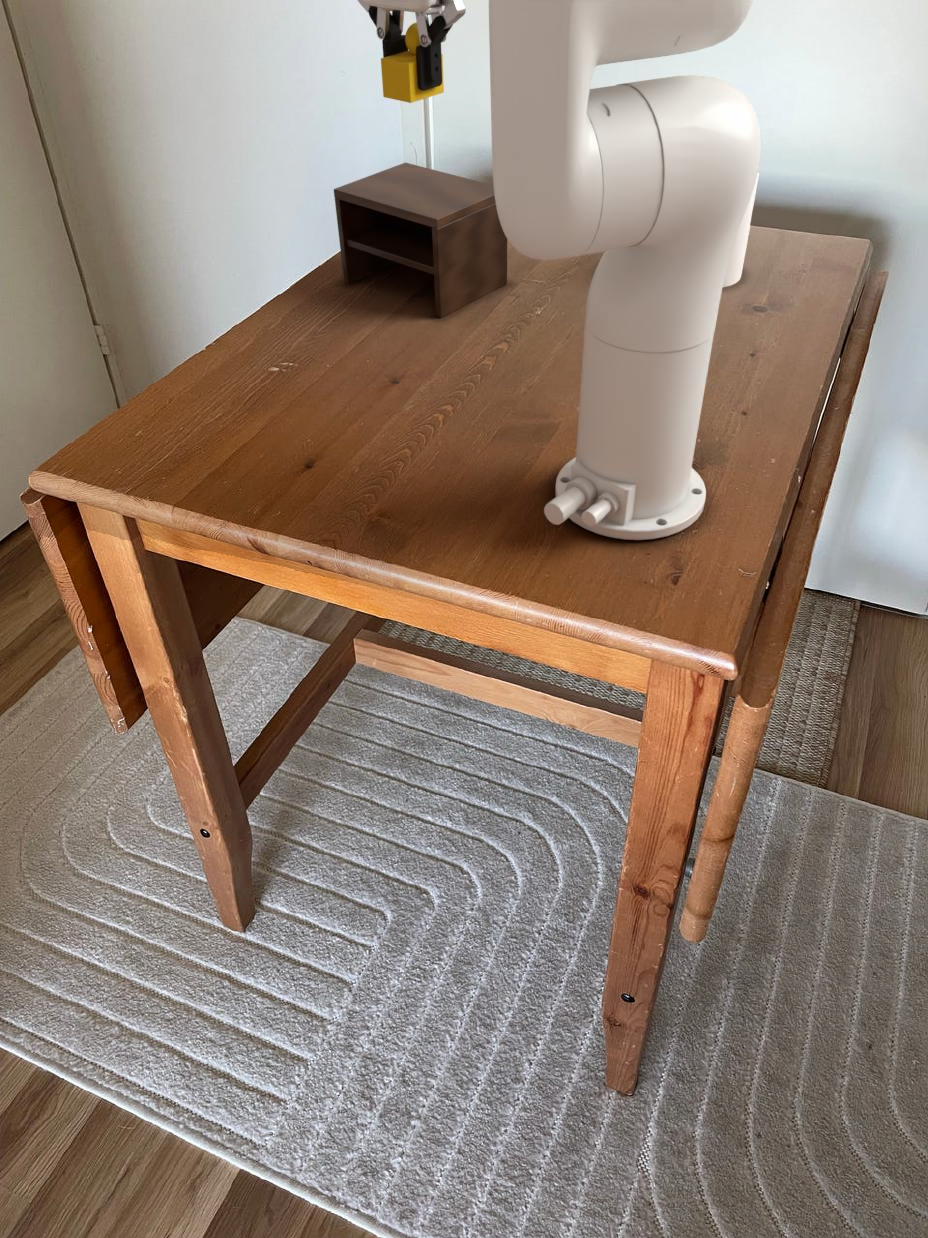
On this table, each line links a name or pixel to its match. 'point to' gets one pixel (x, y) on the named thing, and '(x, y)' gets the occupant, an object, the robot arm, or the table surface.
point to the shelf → (424, 231)
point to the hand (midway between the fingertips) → (413, 81)
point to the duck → (405, 72)
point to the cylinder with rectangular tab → (740, 245)
